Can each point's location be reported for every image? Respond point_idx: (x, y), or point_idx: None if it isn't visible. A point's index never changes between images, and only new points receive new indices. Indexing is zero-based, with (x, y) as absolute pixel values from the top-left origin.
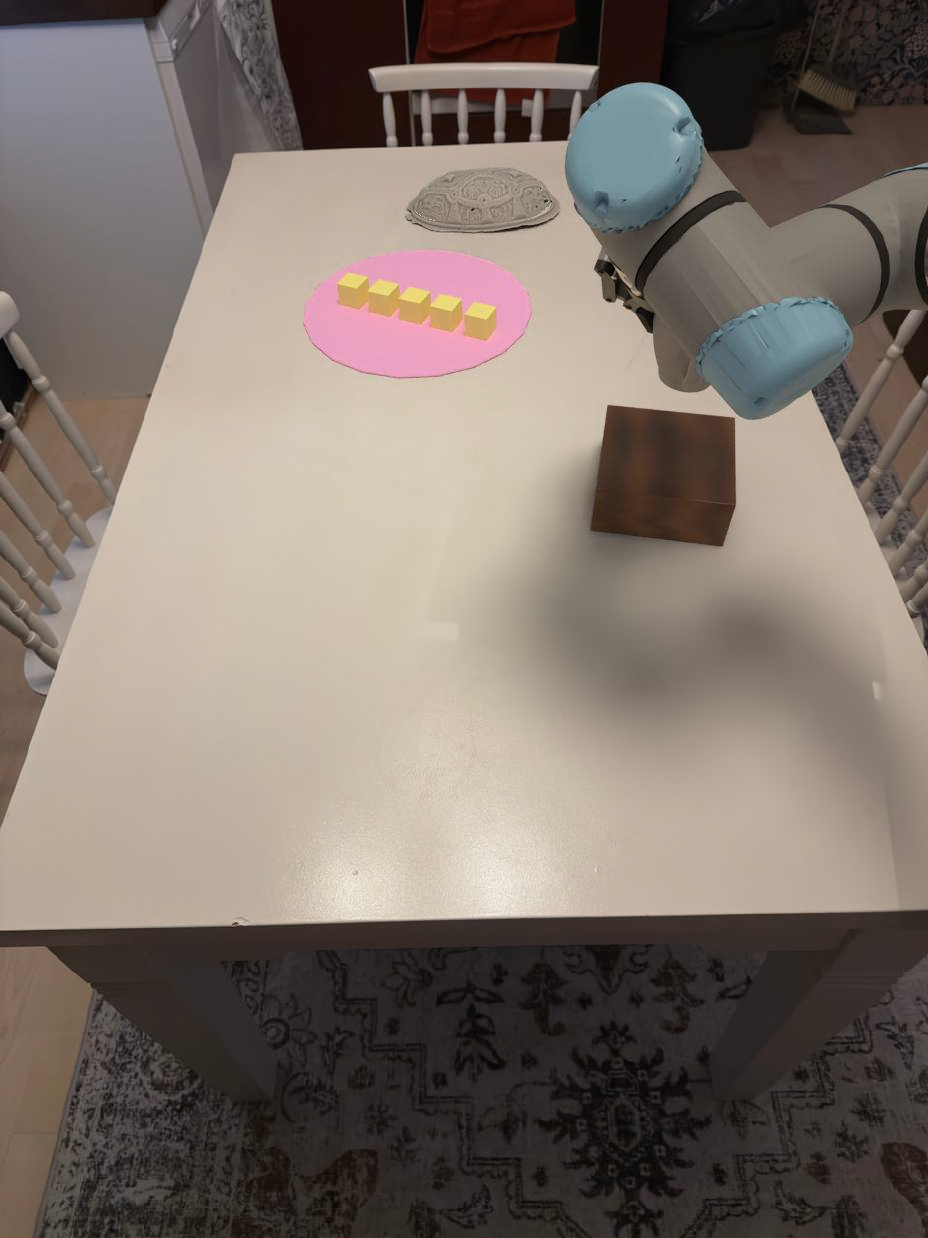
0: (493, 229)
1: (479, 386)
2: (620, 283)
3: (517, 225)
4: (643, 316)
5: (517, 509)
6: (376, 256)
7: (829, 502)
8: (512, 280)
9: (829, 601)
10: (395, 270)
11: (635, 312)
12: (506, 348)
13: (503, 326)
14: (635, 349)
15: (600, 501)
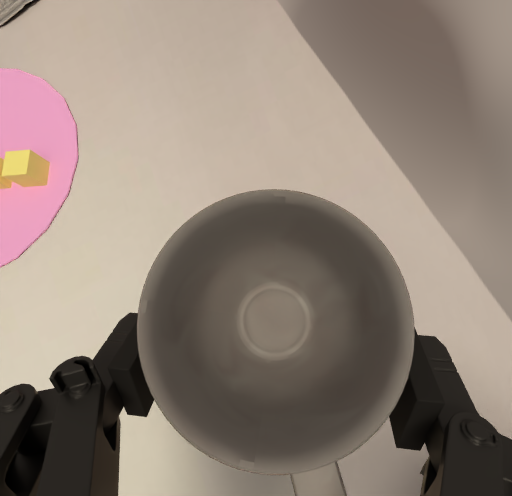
0: (1, 22)
1: (62, 253)
2: (30, 435)
3: (21, 7)
4: (151, 403)
5: (157, 421)
6: None
7: (447, 268)
8: (43, 86)
9: (501, 418)
10: None
11: (128, 413)
12: (69, 187)
13: (55, 156)
14: (189, 130)
15: None
